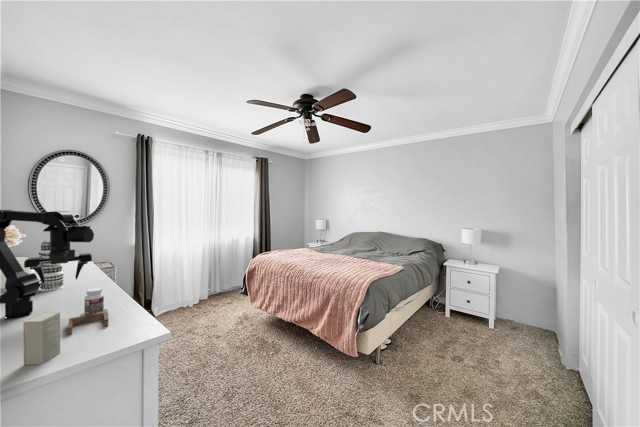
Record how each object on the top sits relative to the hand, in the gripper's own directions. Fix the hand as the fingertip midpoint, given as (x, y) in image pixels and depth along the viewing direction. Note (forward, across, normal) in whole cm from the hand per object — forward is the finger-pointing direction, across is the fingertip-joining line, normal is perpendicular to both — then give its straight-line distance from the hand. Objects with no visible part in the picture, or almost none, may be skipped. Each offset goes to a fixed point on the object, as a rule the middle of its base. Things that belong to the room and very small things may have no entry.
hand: (60, 281), depth 103 cm
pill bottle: (+13, +10, -11) cm, 20 cm away
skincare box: (+13, -2, -40) cm, 42 cm away
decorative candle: (+13, -5, +46) cm, 48 cm away
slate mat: (+13, +10, -11) cm, 20 cm away
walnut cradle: (+13, +8, -22) cm, 27 cm away
